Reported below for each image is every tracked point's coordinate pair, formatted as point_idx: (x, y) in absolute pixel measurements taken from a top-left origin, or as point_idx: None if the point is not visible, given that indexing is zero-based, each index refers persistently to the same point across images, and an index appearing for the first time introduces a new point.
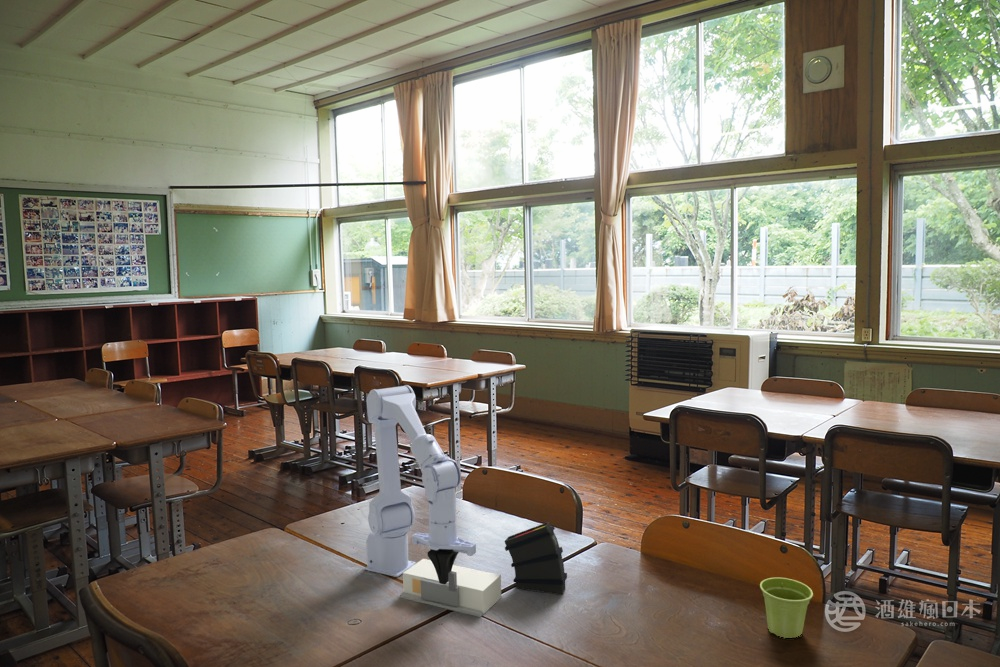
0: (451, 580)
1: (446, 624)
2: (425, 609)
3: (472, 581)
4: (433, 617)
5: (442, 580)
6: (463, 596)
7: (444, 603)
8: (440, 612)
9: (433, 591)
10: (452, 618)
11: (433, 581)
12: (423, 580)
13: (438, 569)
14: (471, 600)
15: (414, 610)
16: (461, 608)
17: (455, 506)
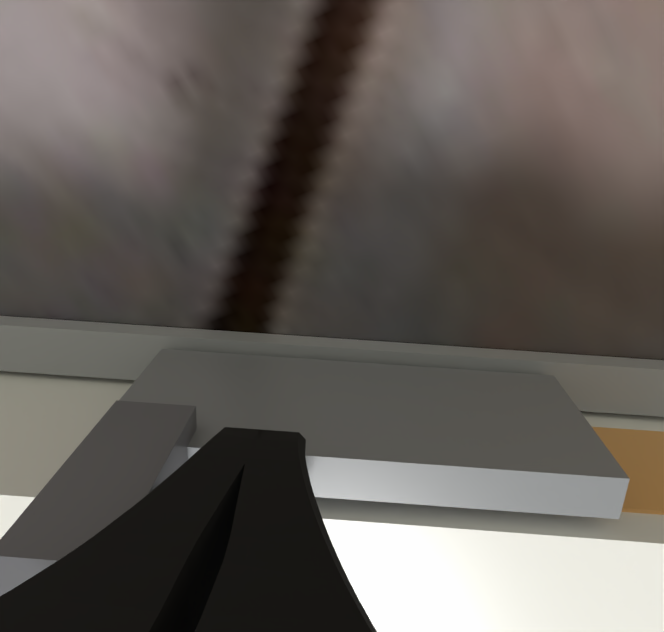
0: (97, 481)
1: (131, 93)
2: (447, 263)
3: None
4: (308, 162)
5: (226, 444)
6: None
7: (297, 359)
8: (294, 264)
9: (422, 410)
10: (143, 211)
11: (449, 497)
12: (587, 482)
13: (246, 555)
14: (12, 414)
15: (538, 210)
16: (130, 351)
17: None
